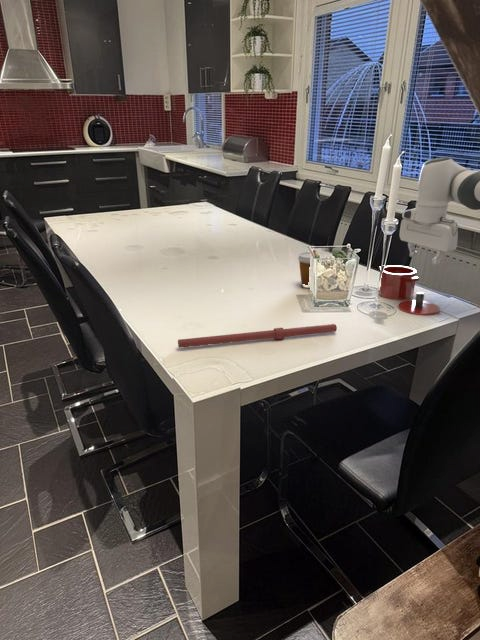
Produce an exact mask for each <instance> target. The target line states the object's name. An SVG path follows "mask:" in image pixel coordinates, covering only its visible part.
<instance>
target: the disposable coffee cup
mask: <svg viewBox="0 0 480 640" xmlns="http://www.w3.org/2000/svg"><path fill="white" fill-rule="evenodd" d="M310 252H311V251H308V252H301V253H299V254H298V257H297V260H298V263H299V273H300V284H301V283H302V284H305V285H308V282H309V267H310ZM302 284H301V285H302Z"/></svg>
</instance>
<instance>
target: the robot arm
mask: <svg viewBox="0 0 480 640" xmlns="http://www.w3.org/2000/svg"><path fill="white" fill-rule="evenodd" d="M417 194H418V196H417V199H416V202H415V207H414V208H411V209H406V210H403V211H402V213H401V217H402V219H401V222H400V228H399V239H400V240H401V241H402V242H406V243H407V247H408V251H409V258H414V259H415V258H417V257H418V251H417V250H416V246H421V247H425V248H428V249H432V250H435V253H436V254H435V257H432V260H431V263H432V264H433V265H440V264H441V259H442V258H443V256H444V255H445V254H446V253H451V252H455V250H456V249H457V248H458V241H459V240H458V239H459V238H458V237H459V236H458V235H459V232H458V229H459V224H458V223H457V221H456V220H455V219H454V218H448V217H447V214H448V207H449V203H450V202H454V203H457V204H458V205H462V206H464V207H465V208H467V209H469V210H473V211H480V169H479V170H473V169H469V168H467V167H465V166H462V165H460V164H459V163H457V162H456V161H454V160H453V158H451V157H448V156H443V157H442V156H441V157H436V158H432V159H428V160H427V161H425V162H424V163H423V164H422V167H421V170H420V174H419V178H418V185H417Z"/></svg>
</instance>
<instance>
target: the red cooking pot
mask: <svg viewBox="0 0 480 640" xmlns="http://www.w3.org/2000/svg"><path fill="white" fill-rule="evenodd" d="M384 266H385V267H384V271H383V273H382V278H381V287H380V295H379V297H381V298H383V299H386V300H391V301H407V300H412V299H413V298H414V296H415V295H414V294H415V286H416V282H419V280H420V277H418V276H417V270H416V269H415V268H412V267H409V266H405V265H384ZM378 270H379V274H380V273H381V266H378Z"/></svg>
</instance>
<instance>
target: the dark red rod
mask: <svg viewBox="0 0 480 640" xmlns="http://www.w3.org/2000/svg"><path fill="white" fill-rule="evenodd" d="M337 329H338V326H337V325H336V324H335V323H329V324H320V325H310V326H300V327H299V326H298V327H289V328H283V327H275V328H273V329H272V330H260V331H251V332H250V331H249V332H240V333H231V334H229V333H228V334H221V335H212V336H211V335H209V336H201V337H191V338H181V339H178V340H177V346H178V348H179V349H181V348H180V347H184V348H190V347H189V346H193V347H201V346H200V345H203V346H209V345H208V344H213V345H220V343H222V344H231V343H230V342H232V343H240V342H241V343H242V342H250V341H258V340H259V341H260V340H269V339H274V340H284V339H285V338H288V337H297V336H307V335H317V334H326V333H336V332H337Z"/></svg>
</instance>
